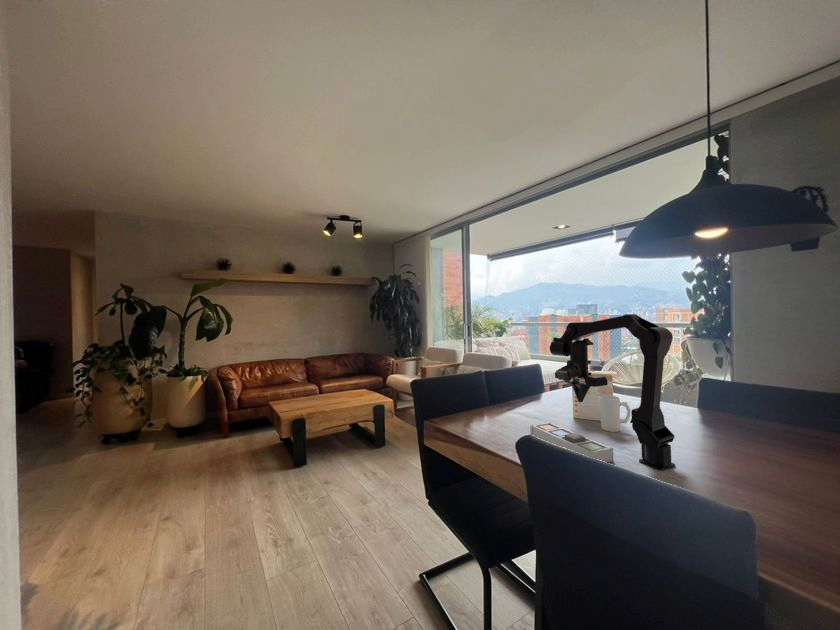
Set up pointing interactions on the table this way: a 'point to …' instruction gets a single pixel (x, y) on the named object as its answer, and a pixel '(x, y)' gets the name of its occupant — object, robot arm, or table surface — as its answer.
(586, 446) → the key sage
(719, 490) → the table surface
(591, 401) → the coffeecake box
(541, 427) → the key terracotta
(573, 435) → the key charcoal
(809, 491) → the table surface
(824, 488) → the table surface
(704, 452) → the table surface
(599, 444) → the keypad
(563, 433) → the key blue
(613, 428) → the mug
